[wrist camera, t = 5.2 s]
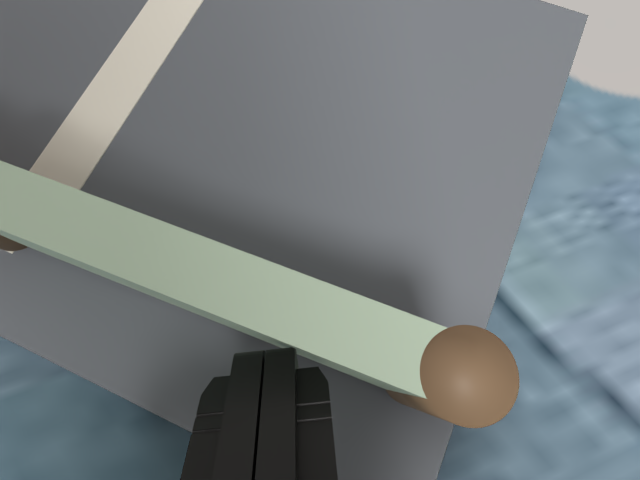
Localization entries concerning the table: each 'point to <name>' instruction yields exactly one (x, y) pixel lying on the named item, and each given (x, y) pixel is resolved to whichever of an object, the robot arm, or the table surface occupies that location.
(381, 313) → the green panel
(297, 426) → the robot arm
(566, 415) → the table surface
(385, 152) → the card
